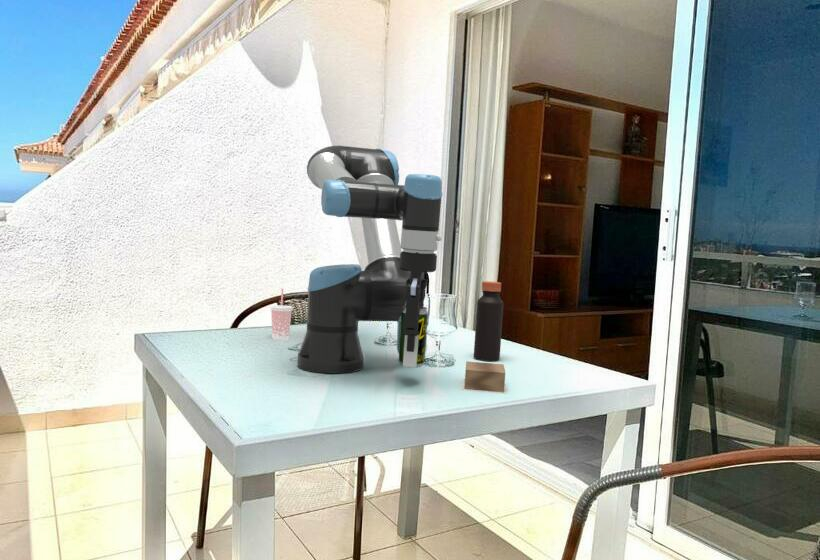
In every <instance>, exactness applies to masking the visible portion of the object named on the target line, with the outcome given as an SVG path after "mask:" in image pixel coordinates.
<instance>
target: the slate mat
mask: <svg viewBox="0 0 820 560" xmlns="http://www.w3.org/2000/svg"><path fill="white" fill-rule="evenodd" d="M461 385H462V386H461V390H462V391H472V392H473V391H474V392H484V393H486V392H487V393H496V394H497V393H498V394H507V388H506V384H505V385H504V392H494V391H482V390H470V389H464V386H465V378H462V384H461Z"/></svg>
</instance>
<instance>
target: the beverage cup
mask: <svg viewBox="0 0 820 560" xmlns="http://www.w3.org/2000/svg"><path fill="white" fill-rule="evenodd" d="M280 292H281V293H280V304H279V305H278V304H275V305H270V310H271V312H270V313H271V339H272V340H275V341H287V340H289V338H290V329H291V320H292V311H293V310H294V309H293V308H294V306H291V305H283V304H284V288H281V291H280Z"/></svg>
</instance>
